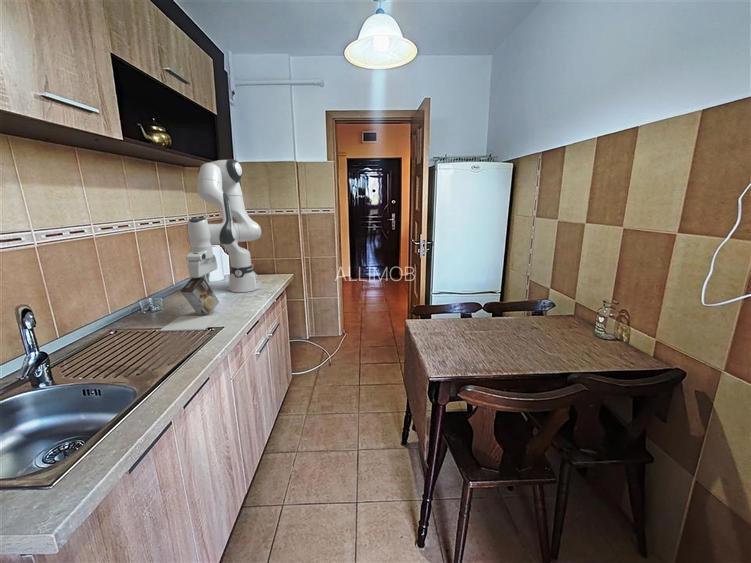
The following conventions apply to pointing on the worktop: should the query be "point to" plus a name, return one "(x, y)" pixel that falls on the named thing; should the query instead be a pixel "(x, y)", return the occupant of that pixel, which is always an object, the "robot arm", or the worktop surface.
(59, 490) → the worktop surface
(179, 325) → the mat
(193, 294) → the coffee box
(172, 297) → the worktop surface
